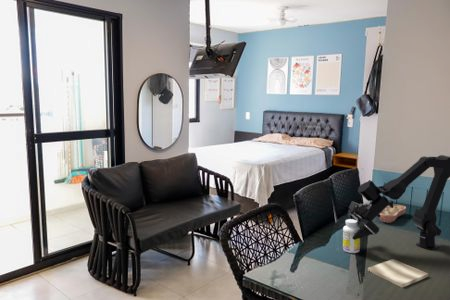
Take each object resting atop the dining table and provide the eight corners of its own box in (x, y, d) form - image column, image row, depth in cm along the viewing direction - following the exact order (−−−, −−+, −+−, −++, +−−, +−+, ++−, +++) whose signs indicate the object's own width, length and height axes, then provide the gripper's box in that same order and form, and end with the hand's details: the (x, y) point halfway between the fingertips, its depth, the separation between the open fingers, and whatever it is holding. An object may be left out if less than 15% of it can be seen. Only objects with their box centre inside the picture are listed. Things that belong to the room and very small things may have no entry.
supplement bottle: (359, 248, 152) (360, 219, 150) (359, 254, 146) (360, 224, 144) (342, 246, 154) (343, 217, 152) (342, 252, 148) (343, 222, 146)
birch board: (392, 261, 138) (392, 258, 138) (427, 276, 126) (428, 273, 126) (367, 270, 132) (367, 267, 131) (402, 287, 119) (402, 284, 119)
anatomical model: (393, 226, 176) (393, 217, 175) (372, 222, 183) (373, 213, 182) (408, 215, 192) (408, 206, 192) (388, 211, 199) (389, 203, 198)
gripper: (352, 189, 156) (327, 215, 157) (372, 201, 138) (344, 230, 138) (369, 206, 158) (344, 231, 158) (391, 220, 139) (363, 248, 140)
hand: (348, 234), depth 149 cm, fingers open, 9 cm apart
